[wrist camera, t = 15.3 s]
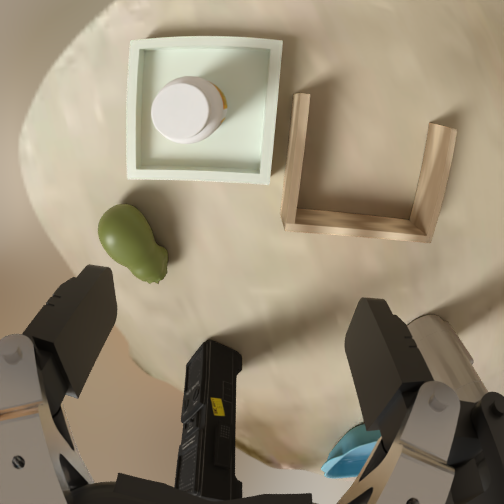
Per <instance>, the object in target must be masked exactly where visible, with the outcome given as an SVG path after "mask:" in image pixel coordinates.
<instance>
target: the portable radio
mask: <svg viewBox="0 0 504 504" xmlns="http://www.w3.org/2000/svg"><path fill="white" fill-rule="evenodd" d="M241 370H242V356H241V355H240V354H239V353H238V352H237V351H235V350H233V349H231V348H228V347H226V346H224V345H221V344H219V343H217V342H215V341H212V340H207V342H204V343H203V344H202V345H201V346H200V348H199V349H198V350H197V351H196V353H195V354H194V355H193V356H192V358H191V359H190V360H189V362H188V363H187V364H186V378H185V388H184V398H183V407H182V415H181V422H182V423H183V433H182V442H181V445H180V446H179V452H178V460H177V469H176V478H175V487H174V488H176V489H179V490H181V491H184V492H187V493H189V494H192V495H195V496H197V497H200V498H203V499H206V500H209V501H215V502H216V501H226V500H233V499H240V498H242V482H240V481H239V480H237V478H236V476H235V424H236V376H237V374H238V373H239V372H240V371H241Z"/></svg>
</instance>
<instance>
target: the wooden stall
mask: <svg viewBox="0 0 504 504" xmlns="http://www.w3.org/2000/svg"><path fill="white" fill-rule="evenodd" d="M309 103H310V94H305V93H297V94H293V101H292V111H291V121H290V130H289V140H288V149H287V159H286V168H285V177H284V185H283V194H282V203H281V211H280V215H281V219H282V222H283V226H284V229H285V231H289V232H303V233H317V234H330V235H343V236H355V237H367V238H379V239H391V240H402V241H413V242H423V243H431V240H432V237H433V234H434V230H435V227H436V223H437V220H438V216H439V213H440V209H441V205H442V202H443V198H444V194H445V189H446V185H447V181H448V177H449V172H450V167H451V162H452V157H453V152H454V147H455V141H456V135H457V130H456V129H453V128H449V127H445V126H441V125H437V124H433V123H429V128H428V134H427V140H426V146H425V152H424V157H423V162H422V168H421V172H420V177H419V182H418V186H417V191H416V195H415V199H414V203H413V207H412V211H411V215H410V219H409V220H405V219H397V218H389V217H380V216H371V215H362V214H353V213H343V212H332V211H322V210H311V209H299V208H297V203H298V195H299V188H300V180H301V172H302V164H303V156H304V148H305V139H306V130H307V121H308V112H309Z"/></svg>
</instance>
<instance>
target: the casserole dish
mask: <svg viewBox="0 0 504 504" xmlns="http://www.w3.org/2000/svg"><path fill="white" fill-rule="evenodd" d="M380 437H381V433H380V430H375V431H366V427H365V424H362V425H359V426H356V427H354V428H353V429H351V430H350V431H349V432H348V433H346V434H345V435H344V436H343V438H342V439H341V440H340V441H339V442H338V443H337V445H336V446H335V447H334V448H333V449H332V451H331V452H330V454H329V456H328V459H327V461H326V462H325V463H324V465H323V466H322V467H321V470H322V471H324V472H325V474H324V475H325V477H327V478H348V477H357V476H358V475H359V473H360V471H361V470H362V468H363V466H364V464H365V463H366V461H367V459H368V457H369V455H370V454H371V452H372V450H373V448H374V446H375V444H376V443H377V441H378V439H379V438H380Z"/></svg>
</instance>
